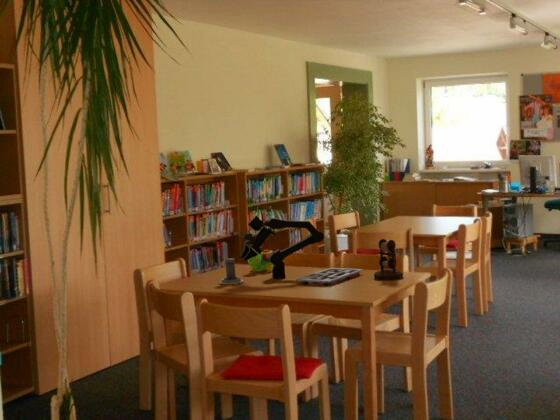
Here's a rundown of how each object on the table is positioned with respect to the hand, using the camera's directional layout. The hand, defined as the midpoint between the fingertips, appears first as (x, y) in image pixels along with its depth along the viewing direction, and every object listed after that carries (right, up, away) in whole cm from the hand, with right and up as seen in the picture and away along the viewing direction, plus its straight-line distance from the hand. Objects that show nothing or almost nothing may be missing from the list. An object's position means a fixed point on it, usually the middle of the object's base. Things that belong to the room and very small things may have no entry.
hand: (242, 259), depth 421 cm
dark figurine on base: (+76, -9, -16) cm, 78 cm away
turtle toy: (+11, -9, +31) cm, 34 cm away
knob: (-6, -12, -1) cm, 13 cm away
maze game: (+46, -10, -10) cm, 48 cm away
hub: (-6, -12, -1) cm, 14 cm away
